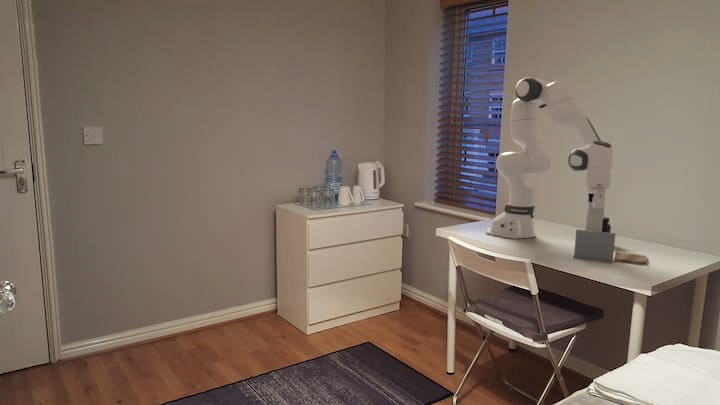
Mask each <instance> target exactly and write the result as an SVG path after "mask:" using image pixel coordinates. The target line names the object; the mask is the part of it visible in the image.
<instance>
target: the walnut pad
mask: <svg viewBox="0 0 720 405" xmlns="http://www.w3.org/2000/svg"><path fill="white" fill-rule="evenodd" d="M613 262H617V263H627V264H634V265H640V266H641V265H642V266H647V255H643V254H635V253H627V252H626V253H625V252H617V251H616V252H615V255H614V258H613Z"/></svg>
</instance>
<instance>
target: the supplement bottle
mask: <svg viewBox="0 0 720 405" xmlns="http://www.w3.org/2000/svg"><path fill="white" fill-rule="evenodd" d="M611 230H612V226H611V224H610V217H608V216H603V226H602V232H607V233H612V232H611Z"/></svg>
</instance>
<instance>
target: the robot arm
mask: <svg viewBox="0 0 720 405" xmlns="http://www.w3.org/2000/svg"><path fill="white" fill-rule="evenodd" d="M569 88H570V87H568V85H567V84H566V83H565V82H563V81H561V80H560V81H558V80H557V81H553V82H552V81H550V80H549V81H548V80H545V79H543V78H542V79H541V78H533V77H525V78H521V79H520V80H519V81H518V82H517V84H516V86H515V89H514V90H515V95H516V97H517V99H515V100H514V101H513V102H512V105H511V110H510V111H511V112H510V138H511V140H512V142H514V143H515V144H516V145H518V146H520V147H521V149H522V151H507V152H503V153H500V154H499V155H497V158H496V160H495V168H496V170H497V172H498V173H499V174H500V175H501V176H503V177H504V179H505V180H506V183H507V184H508V185H507V186H508V189H509V192H508V193H509V196H508V197H509V198H508V199H509V201H508V202H509V203H508V202H507V203H506V204H505V205H504V207H503V209H504V211H503V212H502V213H501V214H499V215H497V216H496V217H495V218H493V220H492V221H491V225H490V227H488V228H486V230H485V233H486V235H487V234H488V235H491V236H497V237H502V238H503V237H504V238H510V239H516V240H517V239H529V238H534V237H536V232H535V224H534V218H535V215H536V214H535V213H536V212H535V211H536V208H535V193H536V191H535V188H534V187H533V186H532V185H531V184H529V183H527V182H525V178H524V177H526V176H536V177H537V176H542V175H546V174H548V173H550V171H551V170H552V168H553V159H552V157H551V155H550V154H549V153H548V152H547V151H545V150H544V149H543V147H542V146H541V144H540V143H539V140H538V137H537V135H538V134H537V127H536V126H537V124H536V123H537V121H536V120H537V119H536V112H537V109H538V108H539V109H543V108H545V107H547V110H548V112H549V115H550V117H551V119H552V120H553V122H554V123H555V124H556V125H558V126H560V127H563V128H566V129H569V130H572V131H573V132H575V133H577V134H578V135H579V136H580V138H581V139H582V142H583V143H584V145H585V146H583V147H579V148H575V149H573V150H571V152H570V153H569V154H568V159H567V161H568V162H567V163H568V165H569V168H570V169H571V170H572V171H575V172H586V181H585V186H586V187H587V199H588V198H589V193H592V194H593V195H594V196H593V198H592V206H593V207H594V216H593V217H594V218H596V219H598V218H599V213H600V210H603V209H604V210H605V205H606V204H605V203H606V192H607V189H609V188H610V186H611V180H612V179H611V178H612V177H611V176H612V173H611V169H612V166H613V162H614V161H613V160H614V159H613V157H614V149H613V146H612V144H611V143H609V142H606V141H602V140H601V139H600V136H599V135H598V133H597V132H596V129H595V128H594V126H593V124H592V122H591V120H590V119H589V118H588V117H587V116H586V115H585V114H584V113H583V112H582V110H581V109H580V108H579V106H578V105H577V103H576V100H575V98H574V96H573V94H572V92H571V90H570V89H569Z"/></svg>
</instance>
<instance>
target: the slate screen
mask: <svg viewBox="0 0 720 405" xmlns="http://www.w3.org/2000/svg"><path fill="white" fill-rule="evenodd" d="M615 242H616V233H614V232H611V233H607V232H597V231H588V230H585V229H578V228H577V229H576V231H575V242H574V243H575V245H574V254H573V259H576V260H585V261H591V262H601V263H606V264H607V263H608V264H613V262H614V252H615Z"/></svg>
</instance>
